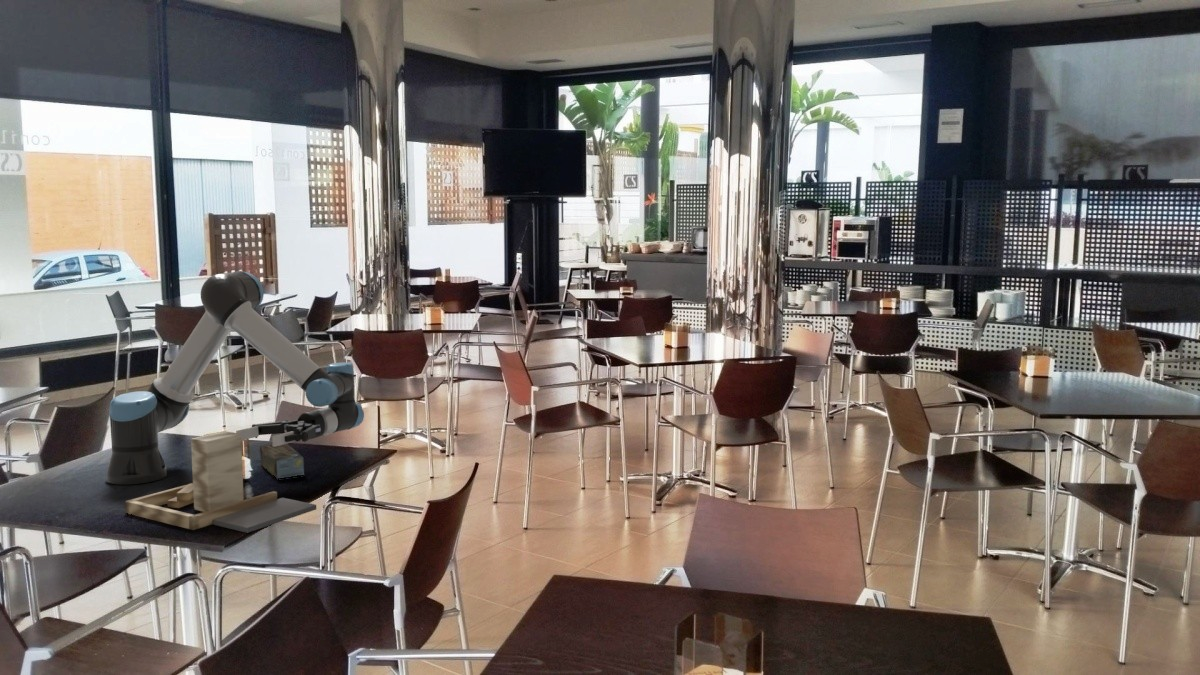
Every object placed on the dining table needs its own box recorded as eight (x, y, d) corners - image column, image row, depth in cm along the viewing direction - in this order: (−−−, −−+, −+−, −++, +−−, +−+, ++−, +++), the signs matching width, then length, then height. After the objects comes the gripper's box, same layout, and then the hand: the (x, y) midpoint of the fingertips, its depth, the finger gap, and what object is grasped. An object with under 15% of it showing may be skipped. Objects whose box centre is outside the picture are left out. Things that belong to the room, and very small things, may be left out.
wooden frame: (125, 513, 232) (125, 501, 231) (210, 489, 253) (210, 478, 252) (193, 530, 219) (193, 517, 219) (277, 503, 240) (276, 492, 240)
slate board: (212, 524, 223) (212, 519, 223) (282, 502, 241) (282, 497, 241) (247, 532, 217) (247, 527, 217) (316, 509, 235) (316, 504, 235)
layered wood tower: (194, 509, 235) (190, 438, 233) (227, 499, 244) (224, 431, 241) (210, 513, 232) (206, 441, 230) (243, 503, 241) (240, 433, 238)
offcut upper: (177, 500, 237) (176, 493, 236) (190, 490, 245) (189, 483, 245) (189, 500, 237) (188, 492, 236) (202, 490, 246) (201, 482, 245)
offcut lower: (167, 508, 237) (167, 500, 237) (199, 496, 248) (198, 488, 247) (178, 510, 236) (178, 501, 236) (210, 498, 246) (209, 489, 246)
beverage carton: (276, 480, 262) (275, 457, 261) (259, 466, 278) (258, 444, 278) (305, 476, 267) (304, 454, 266) (287, 462, 283) (286, 441, 282)
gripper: (350, 441, 258) (289, 458, 240) (286, 432, 270) (223, 447, 252) (349, 414, 257) (288, 429, 239) (284, 406, 269) (222, 420, 251)
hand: (254, 438), depth 245 cm, fingers open, 13 cm apart
